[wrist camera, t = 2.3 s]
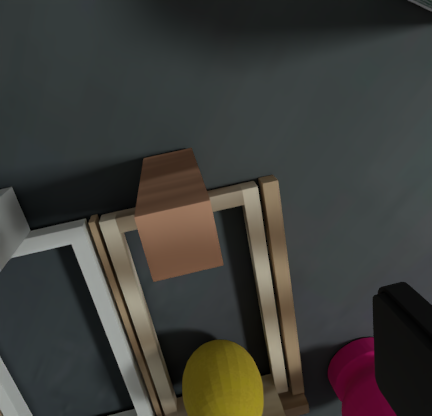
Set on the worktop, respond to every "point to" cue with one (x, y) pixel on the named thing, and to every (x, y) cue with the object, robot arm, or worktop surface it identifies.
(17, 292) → the worktop surface
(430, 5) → the syrup box
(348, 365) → the pepper mill
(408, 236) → the worktop surface
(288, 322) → the lane bed
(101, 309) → the frame
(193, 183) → the frame
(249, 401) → the lemon
